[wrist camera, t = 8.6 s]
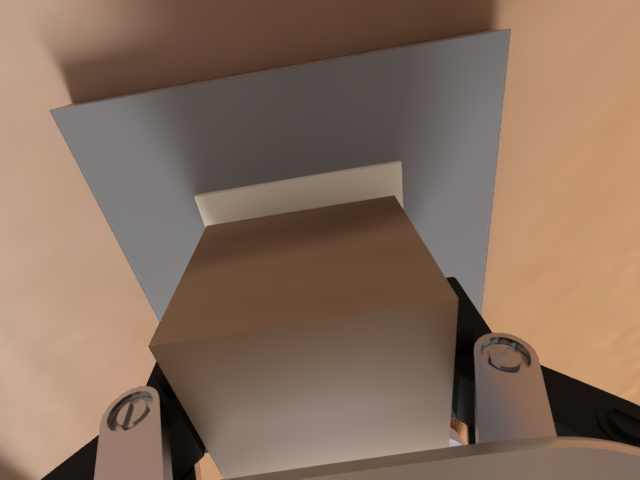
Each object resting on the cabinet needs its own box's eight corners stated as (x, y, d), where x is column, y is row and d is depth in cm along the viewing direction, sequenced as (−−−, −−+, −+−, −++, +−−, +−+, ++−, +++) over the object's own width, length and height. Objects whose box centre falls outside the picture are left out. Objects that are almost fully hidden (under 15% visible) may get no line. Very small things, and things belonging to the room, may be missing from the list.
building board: (71, 104, 12) (45, 111, 10) (491, 29, 11) (514, 28, 10) (204, 378, 19) (198, 402, 17) (466, 338, 18) (478, 360, 17)
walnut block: (206, 225, 11) (147, 346, 7) (394, 195, 11) (458, 298, 7) (253, 355, 14) (233, 496, 10) (401, 333, 14) (448, 465, 10)
